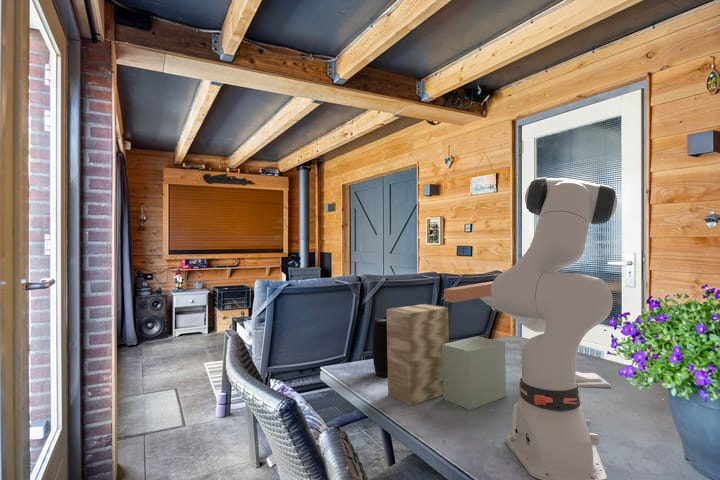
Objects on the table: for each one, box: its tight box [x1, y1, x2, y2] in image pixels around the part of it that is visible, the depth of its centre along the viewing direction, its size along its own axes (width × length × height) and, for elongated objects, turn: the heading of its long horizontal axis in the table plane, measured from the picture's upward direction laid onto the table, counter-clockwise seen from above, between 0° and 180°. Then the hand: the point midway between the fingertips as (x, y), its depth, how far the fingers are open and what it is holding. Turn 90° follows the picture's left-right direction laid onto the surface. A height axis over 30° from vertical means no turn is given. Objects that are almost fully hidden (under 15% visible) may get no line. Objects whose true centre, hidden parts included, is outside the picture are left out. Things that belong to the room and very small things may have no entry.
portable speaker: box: [371, 316, 388, 378], centre depth 141 cm, size 9×9×20 cm
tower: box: [386, 303, 450, 406], centre depth 123 cm, size 16×10×26 cm, turn 125°
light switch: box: [576, 370, 612, 388], centre depth 131 cm, size 11×4×13 cm
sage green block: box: [442, 335, 507, 411], centre depth 119 cm, size 16×10×16 cm, turn 125°
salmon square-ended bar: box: [443, 280, 494, 303], centre depth 121 cm, size 26×4×4 cm, turn 125°
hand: (494, 286), depth 125 cm, fingers closed on salmon square-ended bar, 3 cm apart
